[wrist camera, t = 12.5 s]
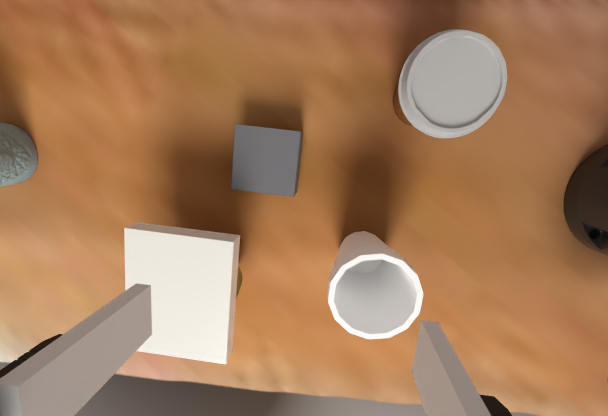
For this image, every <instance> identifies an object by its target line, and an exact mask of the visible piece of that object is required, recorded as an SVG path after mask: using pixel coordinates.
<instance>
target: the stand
mask: <svg viewBox="0 0 608 416" xmlns="http://www.w3.org/2000/svg"><path fill="white" fill-rule="evenodd" d="M302 140H303V132H301V131H292V130H283V129H274V128H265V127H257V126H248V125H239V124H235V134H234V150H233V167H232V183H231V189H234V190H242V191H250V192H258V193H266V194H274V195H282V196H290V197H294V196H295V194H296V193H297V186H298V177H299V168H300V159H301V149H302Z"/></svg>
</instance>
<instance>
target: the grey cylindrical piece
mask: <svg viewBox="0 0 608 416" xmlns="http://www.w3.org/2000/svg"><path fill="white" fill-rule="evenodd" d="M37 164H38V154H37V150H36V147H35V144H34V142H33V141H32V139H31V138H30V136H29V135H28V134H27V133H26V132H25V131H23V130H22V129H21V128H19V127H17V126H15V125H12V124H8V123H1V122H0V186H6V185H11V184H16V183H20V182H23V181H25V180H27V179H29V178H30V177H31V176H32V175H33V174H34V172H35V170H36V168H37Z"/></svg>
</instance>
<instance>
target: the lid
mask: <svg viewBox="0 0 608 416" xmlns="http://www.w3.org/2000/svg"><path fill="white" fill-rule="evenodd" d="M124 231H125V290H128V289H129V288H130V287H132V286H133V285H135V284H136V283H138V284H145V285H151V311H152V335H151V336H150V337H149V338H148V339H147V340H146V341H145V342H144V343H143V344H142V345H141V347H140V348H139V349H138V350H137V351H141V352H147V353H154V354H160V355H167V356H174V357H180V358H187V359H194V360H200V361H207V362H213V363H220V364H226V363H227V361H228V359H229V357H230V354H231V352H232V349H233V334H234V319H235V304H236V290H237V275H238V260H239V245H240V235H234V234H227V233H219V232H211V231H204V230H196V229H188V228H180V227H173V226H165V225H157V224H149V223H142V222H137V223H135V224H133V225H130V226H128V227H126V228H124Z"/></svg>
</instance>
